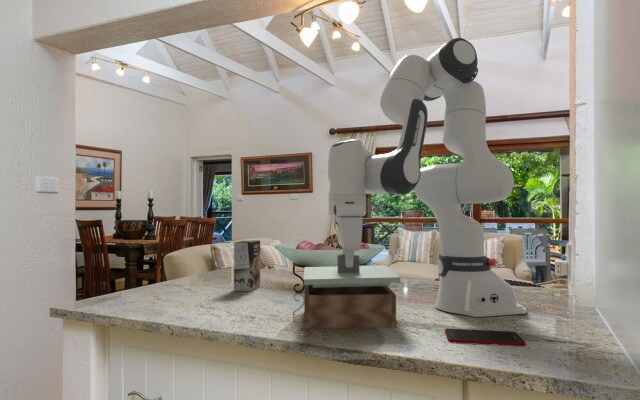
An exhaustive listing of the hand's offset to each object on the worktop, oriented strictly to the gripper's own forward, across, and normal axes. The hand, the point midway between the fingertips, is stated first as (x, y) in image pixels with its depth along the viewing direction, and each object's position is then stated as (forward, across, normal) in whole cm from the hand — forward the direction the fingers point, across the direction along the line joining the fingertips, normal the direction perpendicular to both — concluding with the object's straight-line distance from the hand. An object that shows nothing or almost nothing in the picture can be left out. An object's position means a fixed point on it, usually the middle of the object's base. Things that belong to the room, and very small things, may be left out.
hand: (348, 265), depth 98 cm
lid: (+3, 0, 0) cm, 3 cm away
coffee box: (+14, -42, -30) cm, 53 cm away
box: (+13, 0, 0) cm, 13 cm away
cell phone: (+14, +13, +26) cm, 33 cm away
